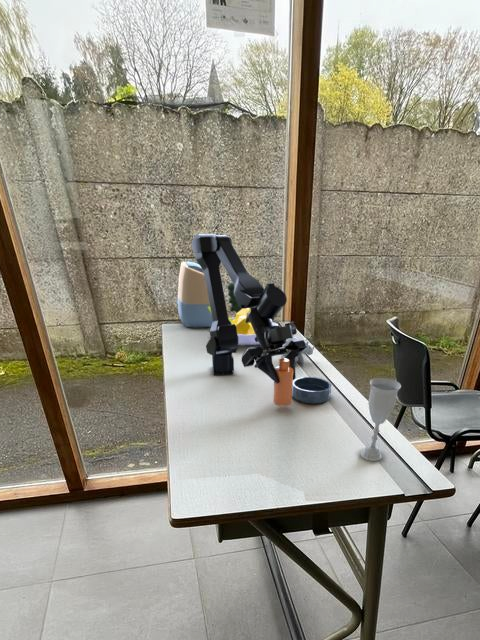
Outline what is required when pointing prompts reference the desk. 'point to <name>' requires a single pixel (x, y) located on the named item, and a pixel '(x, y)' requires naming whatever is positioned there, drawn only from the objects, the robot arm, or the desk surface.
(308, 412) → the desk surface
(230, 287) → the toy figurine
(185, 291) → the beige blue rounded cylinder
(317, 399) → the bowl
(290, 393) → the orange bottle
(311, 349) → the round bodied animal figurine
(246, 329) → the fruit bowl
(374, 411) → the chalice
